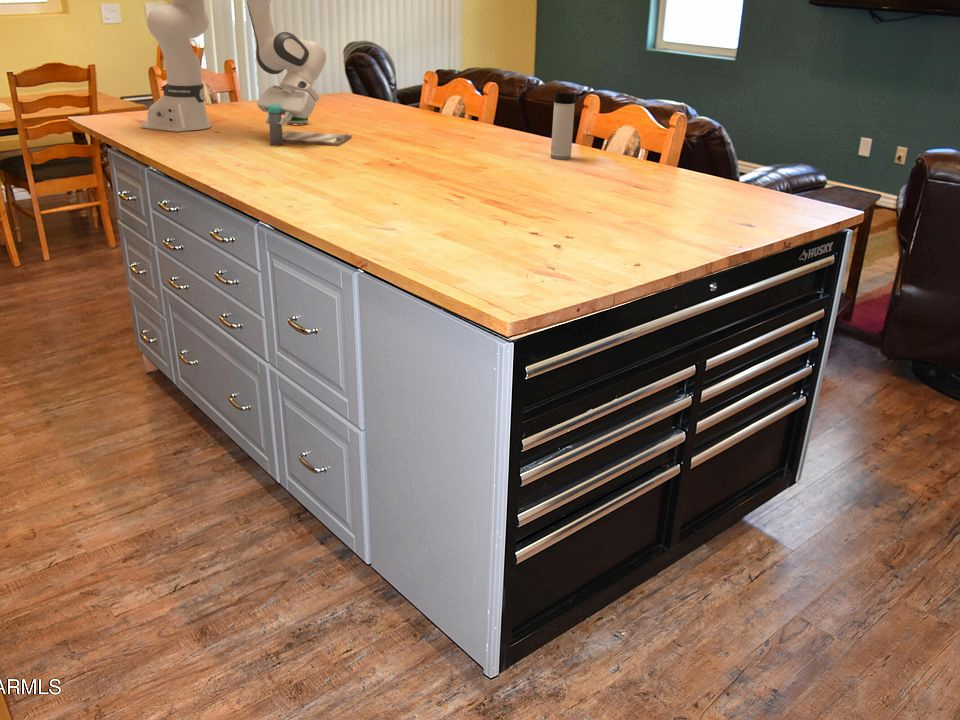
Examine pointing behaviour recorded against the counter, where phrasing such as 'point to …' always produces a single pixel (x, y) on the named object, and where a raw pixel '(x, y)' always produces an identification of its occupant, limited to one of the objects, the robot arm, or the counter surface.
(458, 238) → the counter surface
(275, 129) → the marker
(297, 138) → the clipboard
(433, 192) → the counter surface
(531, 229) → the counter surface
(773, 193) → the counter surface
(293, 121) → the soda can
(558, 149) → the travel mug
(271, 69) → the robot arm
